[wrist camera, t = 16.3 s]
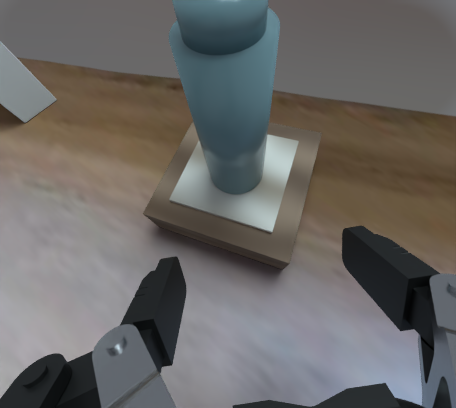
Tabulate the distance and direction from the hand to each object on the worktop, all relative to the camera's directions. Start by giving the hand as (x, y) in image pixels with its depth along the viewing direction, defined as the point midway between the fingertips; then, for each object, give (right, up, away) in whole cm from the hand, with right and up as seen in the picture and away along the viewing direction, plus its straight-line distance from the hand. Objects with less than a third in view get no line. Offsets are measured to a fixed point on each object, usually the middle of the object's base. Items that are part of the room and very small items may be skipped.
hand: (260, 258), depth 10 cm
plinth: (0, +4, +15) cm, 15 cm away
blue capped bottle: (-1, +6, +11) cm, 12 cm away
